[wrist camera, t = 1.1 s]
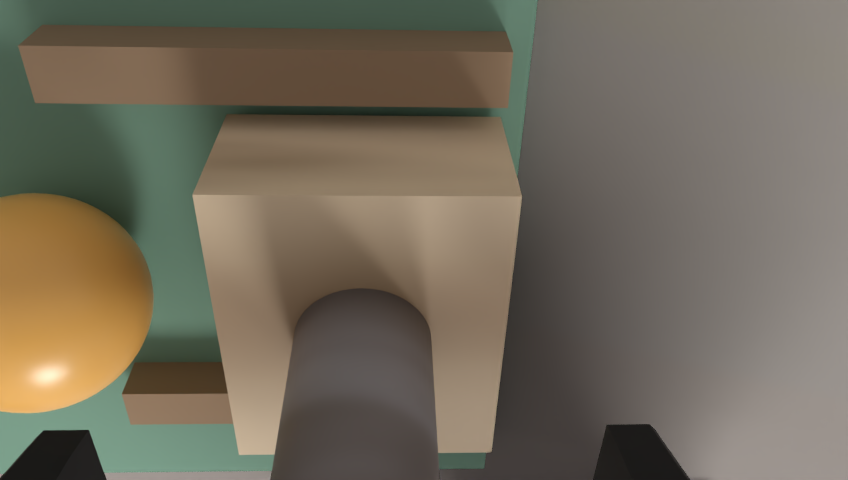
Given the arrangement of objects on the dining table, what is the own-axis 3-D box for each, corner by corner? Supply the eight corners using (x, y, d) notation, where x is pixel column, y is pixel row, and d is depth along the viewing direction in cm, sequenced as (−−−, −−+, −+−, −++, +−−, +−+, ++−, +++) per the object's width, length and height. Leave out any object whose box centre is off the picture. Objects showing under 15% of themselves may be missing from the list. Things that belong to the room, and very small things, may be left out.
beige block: (478, 354, 17) (528, 732, 11) (260, 355, 17) (178, 741, 10) (500, 116, 14) (594, 464, 7) (226, 113, 13) (75, 470, 7)
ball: (189, 313, 16) (138, 460, 13) (5, 313, 16) (-92, 461, 13) (157, 154, 14) (85, 284, 11) (-57, 152, 14) (-195, 284, 11)
